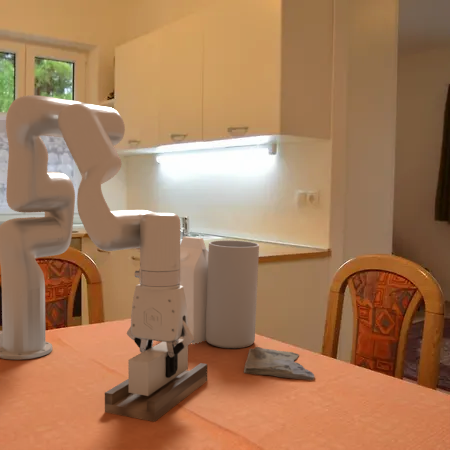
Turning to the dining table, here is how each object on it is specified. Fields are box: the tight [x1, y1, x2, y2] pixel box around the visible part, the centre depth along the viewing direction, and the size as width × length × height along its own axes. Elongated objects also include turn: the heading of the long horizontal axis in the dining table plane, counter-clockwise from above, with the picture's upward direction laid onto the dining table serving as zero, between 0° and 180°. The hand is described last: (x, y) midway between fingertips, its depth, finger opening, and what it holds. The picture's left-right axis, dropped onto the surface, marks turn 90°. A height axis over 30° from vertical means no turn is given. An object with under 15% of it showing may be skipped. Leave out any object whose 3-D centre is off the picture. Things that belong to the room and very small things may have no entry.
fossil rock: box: [243, 346, 315, 381], centre depth 130 cm, size 18×15×2 cm
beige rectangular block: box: [127, 339, 189, 396], centre depth 111 cm, size 4×16×6 cm, turn 158°
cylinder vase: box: [205, 239, 260, 349], centre depth 147 cm, size 12×12×25 cm
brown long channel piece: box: [104, 362, 208, 422], centre depth 111 cm, size 10×22×4 cm, turn 158°
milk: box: [179, 236, 209, 345], centre depth 153 cm, size 12×12×26 cm
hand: (160, 372), depth 111 cm, fingers closed on beige rectangular block, 4 cm apart
